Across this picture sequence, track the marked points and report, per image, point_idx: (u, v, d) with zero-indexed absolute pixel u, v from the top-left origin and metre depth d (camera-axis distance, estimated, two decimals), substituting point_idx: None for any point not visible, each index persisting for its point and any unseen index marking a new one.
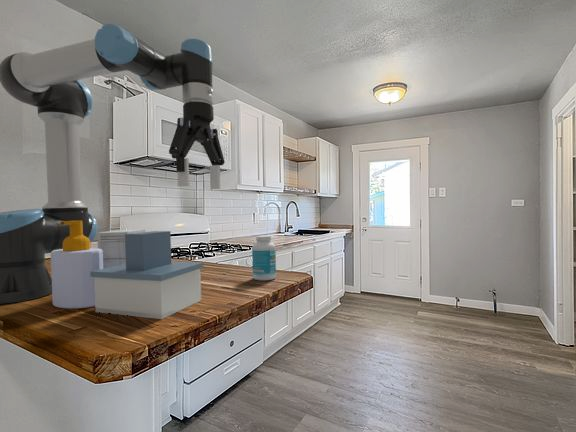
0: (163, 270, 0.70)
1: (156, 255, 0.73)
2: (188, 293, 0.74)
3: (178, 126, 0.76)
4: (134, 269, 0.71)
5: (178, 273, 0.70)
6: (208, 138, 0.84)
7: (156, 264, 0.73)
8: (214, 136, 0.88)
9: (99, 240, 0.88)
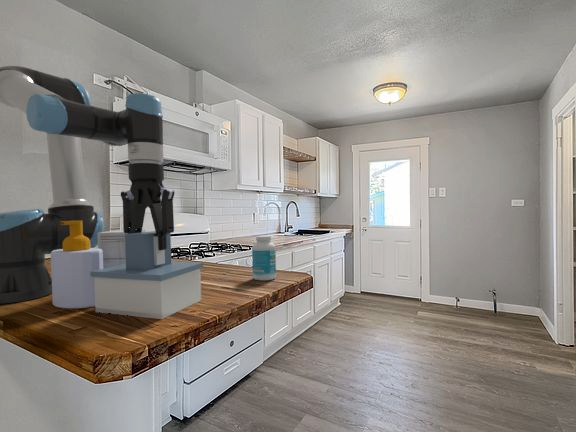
0: (163, 270, 0.70)
1: None
2: (188, 293, 0.74)
3: None
4: (134, 269, 0.71)
5: (178, 273, 0.70)
6: None
7: None
8: None
9: (99, 240, 0.88)
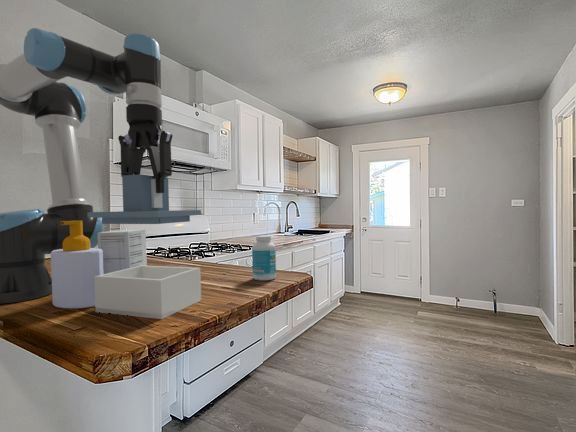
0: None
1: None
2: (188, 293, 0.74)
3: None
4: (131, 210, 0.70)
5: (175, 214, 0.70)
6: None
7: None
8: None
9: (99, 240, 0.88)
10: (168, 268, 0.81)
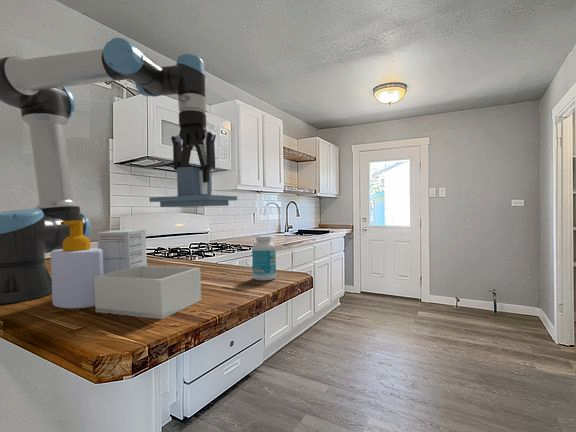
0: None
1: None
2: (188, 293, 0.74)
3: None
4: (185, 195, 0.88)
5: (220, 198, 0.87)
6: None
7: None
8: None
9: (99, 240, 0.88)
10: (168, 268, 0.81)
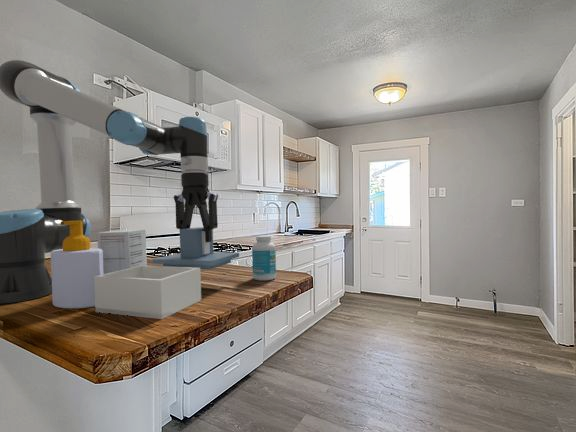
0: (211, 258, 0.88)
1: None
2: (188, 293, 0.74)
3: None
4: (187, 257, 0.89)
5: (223, 260, 0.88)
6: None
7: None
8: None
9: (99, 240, 0.88)
10: (168, 268, 0.81)
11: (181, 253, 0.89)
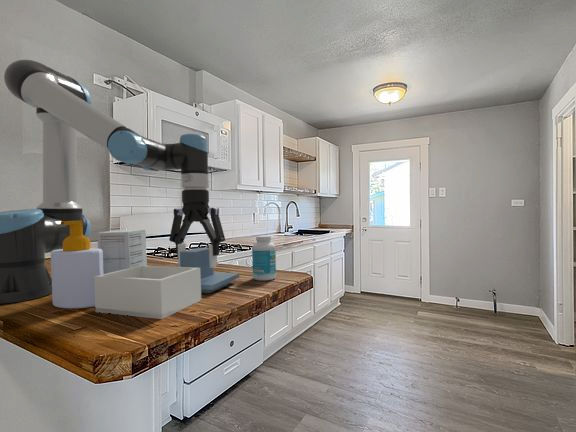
0: (211, 280, 0.88)
1: (203, 268, 0.92)
2: (188, 293, 0.74)
3: None
4: None
5: (223, 283, 0.88)
6: None
7: (203, 275, 0.92)
8: None
9: (99, 240, 0.88)
10: (168, 268, 0.81)
11: None
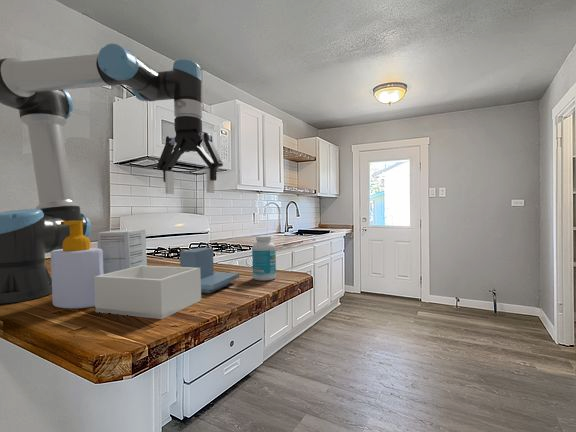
0: (211, 280, 0.88)
1: (203, 268, 0.92)
2: (188, 293, 0.74)
3: None
4: None
5: (223, 283, 0.88)
6: (192, 146, 0.89)
7: (203, 275, 0.92)
8: None
9: (99, 240, 0.88)
10: (168, 268, 0.81)
11: None
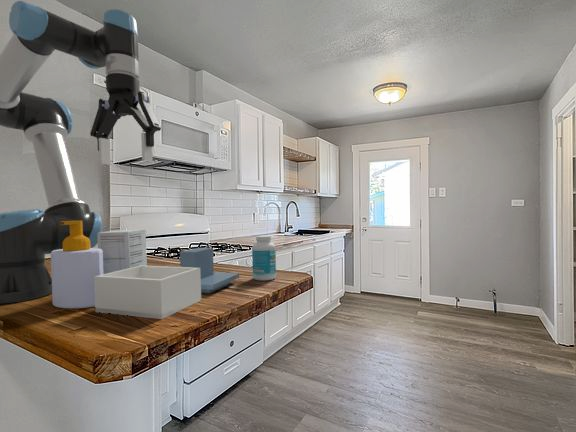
0: (211, 280, 0.88)
1: (203, 268, 0.92)
2: (188, 293, 0.74)
3: None
4: None
5: (223, 283, 0.88)
6: None
7: (203, 275, 0.92)
8: None
9: (99, 240, 0.88)
10: (168, 268, 0.81)
11: None
